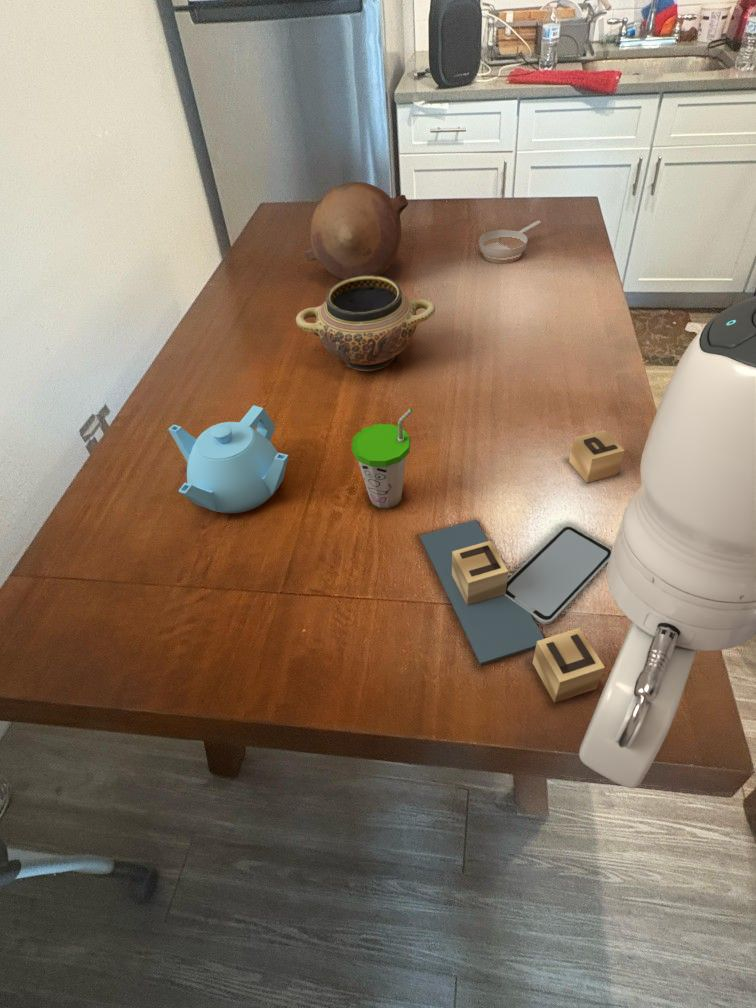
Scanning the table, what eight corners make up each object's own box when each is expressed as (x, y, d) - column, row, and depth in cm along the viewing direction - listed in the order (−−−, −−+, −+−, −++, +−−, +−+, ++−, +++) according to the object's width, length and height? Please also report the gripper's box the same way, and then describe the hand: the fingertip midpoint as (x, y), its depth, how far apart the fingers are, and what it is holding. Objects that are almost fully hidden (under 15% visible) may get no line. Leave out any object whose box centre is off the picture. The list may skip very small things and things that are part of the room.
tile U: (505, 594, 73) (508, 570, 69) (467, 605, 72) (468, 582, 69) (488, 563, 76) (490, 539, 73) (451, 574, 75) (452, 550, 72)
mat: (546, 644, 68) (546, 641, 68) (480, 665, 67) (480, 663, 67) (475, 522, 82) (476, 519, 81) (420, 538, 81) (420, 535, 80)
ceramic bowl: (301, 392, 111) (283, 331, 98) (311, 322, 120) (296, 258, 107) (435, 390, 109) (434, 327, 96) (435, 319, 117) (435, 253, 104)
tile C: (597, 688, 64) (605, 666, 61) (554, 703, 63) (560, 681, 60) (573, 649, 68) (579, 626, 64) (532, 662, 67) (536, 640, 64)
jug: (382, 303, 127) (409, 264, 150) (399, 202, 115) (427, 178, 138) (290, 279, 129) (332, 245, 152) (298, 178, 117) (342, 157, 140)
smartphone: (617, 552, 76) (548, 624, 69) (615, 556, 77) (547, 629, 70) (566, 522, 80) (496, 589, 73) (565, 527, 81) (495, 593, 74)
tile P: (618, 474, 86) (625, 449, 83) (586, 483, 86) (592, 458, 82) (599, 452, 90) (605, 428, 86) (568, 461, 89) (573, 436, 86)
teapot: (301, 506, 87) (288, 448, 79) (196, 536, 84) (172, 480, 76) (278, 443, 97) (264, 387, 89) (184, 468, 94) (162, 413, 87)
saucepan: (468, 256, 140) (469, 239, 137) (520, 231, 147) (522, 215, 144) (504, 269, 133) (505, 252, 131) (556, 243, 141) (558, 226, 138)
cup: (349, 509, 85) (336, 425, 75) (372, 473, 90) (363, 390, 80) (400, 523, 83) (394, 438, 72) (421, 485, 88) (418, 401, 77)
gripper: (706, 752, 28) (636, 842, 38) (783, 481, 39) (714, 605, 49) (572, 686, 30) (540, 786, 40) (680, 451, 42) (635, 574, 52)
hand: (636, 685), depth 45 cm, fingers open, 8 cm apart
